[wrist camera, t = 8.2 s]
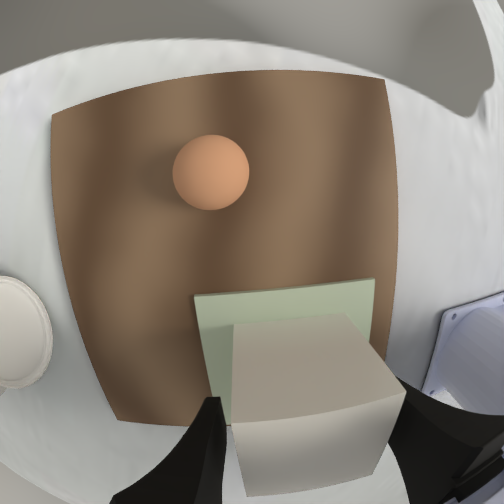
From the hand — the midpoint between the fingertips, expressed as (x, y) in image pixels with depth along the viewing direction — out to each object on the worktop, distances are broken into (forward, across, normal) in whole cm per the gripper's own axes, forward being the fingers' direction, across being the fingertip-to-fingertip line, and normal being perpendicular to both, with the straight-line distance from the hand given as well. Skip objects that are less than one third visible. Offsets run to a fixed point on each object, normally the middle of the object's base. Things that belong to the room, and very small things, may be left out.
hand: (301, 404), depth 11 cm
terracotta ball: (+2, +3, -10) cm, 11 cm away
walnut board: (+4, +3, -5) cm, 7 cm away
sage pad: (+3, 0, 0) cm, 3 cm away
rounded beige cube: (+3, 0, 0) cm, 3 cm away
